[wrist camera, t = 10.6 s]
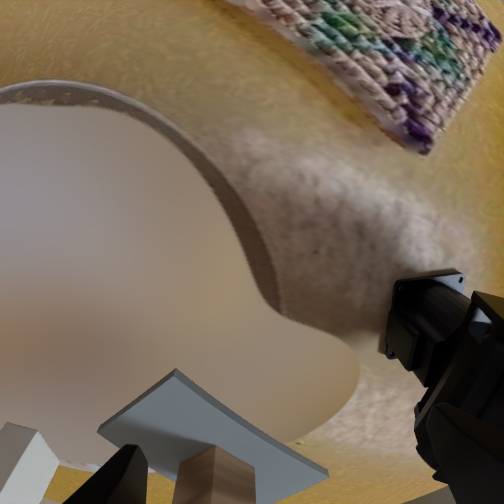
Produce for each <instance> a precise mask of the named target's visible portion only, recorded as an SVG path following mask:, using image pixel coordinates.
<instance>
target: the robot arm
mask: <svg viewBox="0 0 504 504" xmlns="http://www.w3.org/2000/svg"><path fill="white" fill-rule="evenodd" d="M459 278H460V280H459ZM458 280H459V281H458ZM401 285H403V287H402V288H401V289H400V290H399V287H400V286H401ZM464 285H465V275H464V274H462V273H461V272H456V273H449V274H441V275H434V276H426V277H417V278H409V279H400V280H398V281H396V282H395V284H394V288H393V298H392V307H391V310H390V311H389V315H388V323H387V330H386V337H385V341H386V349H385V355H386V357H387V358H388V359H396V358H398V359H399V361H400V362H401V363H402V365H403V366H404V368H405V369H406V370H407V371H408V372H410V371H413V372H414V374H415V375H416V376H417V378H418V379H419V381H420V382H421V383H422V385H423V386H424V387H425V388H427V387H429V388H428V389H427V391H426V393H425V394H424V396H423V398H422V399H421V401H420V402H418V403H417V405H416V406H415V408H414V413H415V419H416V420H415V425H414V433H415V436H416V439H417V442H418V444H417V446H416V450H417V452H418V454H419V455H420V457H421V458H422V459H423V460H424V461H425V462H426V463H427V464H428V465H429V466H430V467H431V468H432V469H434V470H436V472H435V473H434V474H433V476H432V478H433V479H434V480H437V481H440V482H443V483H446V484H448V485H449V487H450V490H451V492H452V494H453V497H454V499H455V501H456V504H504V298H502V297H498V296H494V295H490V294H486V293H482V292H478V291H473V294H472V296H471V300H470V299H469V298H467V297H466V296H464V295H463V291H464ZM391 352H393V353H392V354H390V353H391ZM147 475H148V461H147V459H146V457H145V455H144V453H143V451H142V450H141V448H140V446H139V445H137V444H125V445H124V446H123V447H122V448H121V449H120V450H119V451H118V452H116V453H115V454H114V455H113V456H112V457H111V458H110V459H109V460H108V461H107V462H106V463H105V464H104V465H103V466H102V467H101V468H100V469H99V470H98V471H97V472H96V473H95V474H94V475H93V476H91V477H90V478H89V479H88V480H87V481H86V482H85V483H84V484H83V485H82V486H81V487H80V488H79V489H78V490H77V491H75V492H74V493H73V494H72V495H71V496H70V497H69V498H68V499H67V500H66V501H65V502H63V503H62V504H146V492H147Z"/></svg>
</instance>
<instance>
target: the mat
mask: <svg viewBox="0 0 504 504" xmlns="http://www.w3.org/2000/svg"><path fill="white" fill-rule="evenodd" d="M97 433H99V434H100V435H102V436H103V437H104V438H105V439H107V440H108V441H110V442H111V443H113V444H114V445H116V446H117V447H118V448H120V449H121V448H122V447H123V446H124V445H125V444H137V445H139V446H140V448H141V450H142V451H143V453H144V455H145V457H146V459H147V461H148V467H150V468H151V469H153V470H155V471H156V472H158V473H160V474H162V475H163V476H165V477H167V478H169V479H171V480H172V481H174V482H176V479H177V474H178V468H179V463H180V462H182V461H184V460H187V459H189V458H191V457H193V456H195V455H197V454H199V453H201V452H203V451H205V450H207V449H209V448H211V447H213V446H215V445H217V446H219V447H220V448H222V449H223V450H225V451H227V452H228V453H230V454H232V455H234V456H235V457H237V458H239V459H240V460H242V461H244V462H246V463H248V464H249V465H251V466H253V467H255V484H256V504H272V503H275V502H277V501H280V500H282V499H284V498H287V497H289V496H291V495H294V494H296V493H298V492H300V491H302V490H305V489H307V488H309V487H311V486H313V485H315V484H317V483H319V482H321V481H323V480H325V479H327V478H329V473H328V470H327V469H325V468H323V467H321V466H319V465H317V464H316V463H314V462H312V461H310V460H308V459H307V458H305V457H303V456H301V455H300V454H298V453H296V452H295V451H293V450H291V449H290V448H288V447H286V446H285V445H283V444H281V443H280V442H278V441H276V440H275V439H273V438H272V437H270V436H269V435H267V434H265V433H264V432H263V431H261V430H259V429H258V428H256V427H255V426H253V425H252V424H250V423H249V422H248V421H246V420H245V419H243V418H242V417H240V416H239V415H237V414H236V413H234V412H233V411H231V410H230V409H229V408H227V407H226V406H225V405H223V404H222V403H220V402H219V401H218V400H216V399H215V398H214V397H212V396H211V395H210V394H208V393H207V392H206V391H204V390H203V389H202V388H201V387H199V386H198V385H196V384H195V383H194V382H193V381H191V380H190V379H189V378H187V377H186V376H185V375H184V374H183V373H182V372H180V371H179V370H178V369H177V368H176V369H174V370H173V371H172V372H170V373H169V374H168V375H167V376H165V377H164V378H163V379H161V380H160V381H159V382H157V383H156V384H155V385H153V386H152V387H151V388H150V389H148V390H147V391H146V392H144V393H143V394H142V395H140V396H139V397H138V398H136V399H135V400H134V401H132V402H131V403H130V404H128V405H127V406H126V407H125V408H123V409H122V410H120V411H119V412H118V413H116V414H115V415H114V416H112V417H111V418H110V419H108V420H107V421H106V422H104V423H103V424H101V425H100V427H99V429H98V431H97Z"/></svg>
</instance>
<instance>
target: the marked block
mask: <svg viewBox="0 0 504 504" xmlns="http://www.w3.org/2000/svg"><path fill="white" fill-rule="evenodd" d="M172 504H256V484H255V467H253V466H251V465H249V464H248V463H246V462H244V461H242V460H240V459H239V458H237V457H235V456H234V455H232V454H230V453H228V452H227V451H225V450H223V449H222V448H220V447H219V446H217V445H215V446H213V447H211V448H209V449H207V450H205V451H203V452H201V453H199V454H197V455H195V456H193V457H191V458H189V459H187V460H184V461H182V462H180V463H179V468H178V474H177V479H176V485H175V490H174V496H173V501H172Z"/></svg>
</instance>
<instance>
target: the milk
mask: <svg viewBox="0 0 504 504" xmlns="http://www.w3.org/2000/svg"><path fill="white" fill-rule="evenodd" d="M59 463H60V461H59V460H58V458H57V457H56V456H55V454H54V453H53V452H52V450H51V449H50V447H49V446H48V444H47V443H46V442H45V441H44V439H43V438H42V436H41V434H40V433H39V431H38V430H35V429H30V428H27V427H22V426H19V425H16V424H12V423H9V422H7V423H6V424H5V425H4V427H3V428H2V430H1V431H0V504H40V502H41V499H42V498H43V495H44V493H45V491H46V489H47V487H48V485H49V483H50V481H51V479H52V477H53V475H54V473H55V471H56V469H57V467H58V465H59Z"/></svg>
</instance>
